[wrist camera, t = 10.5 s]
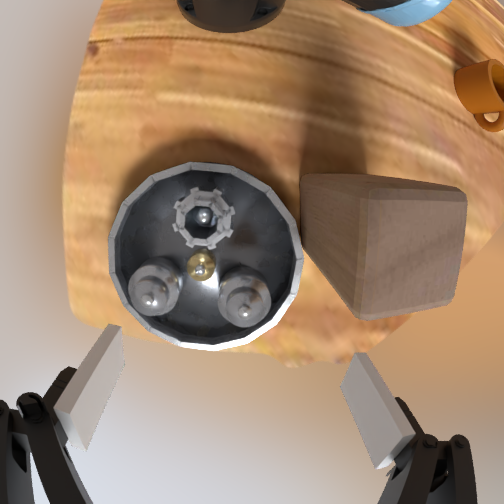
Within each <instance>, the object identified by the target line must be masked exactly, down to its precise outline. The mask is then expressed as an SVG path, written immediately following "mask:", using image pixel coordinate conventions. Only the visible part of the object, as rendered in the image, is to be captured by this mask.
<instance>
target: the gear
mask: <svg viewBox="0 0 504 504" xmlns="http://www.w3.org/2000/svg"><path fill="white" fill-rule="evenodd" d="M190 191H191V194H190V195H189V196H188V197H186V198H185V197H182V198H181V199H179V200H177V202H176V204H175V206H174V208H175V209H177V216H176V221H175V222H174V223H173V224H172V225H173V228H174V231H175V232H176V231H179V232H180V233H181V234H182V235H183V237H184V238H185V239H186V240H187V242H186V245H188V246H190V247H191V248H193V246H194V245H201V246H208V249H209V250H210V249H214V248H217V243H218V242H219V241H220V240H221V239H222V238H224V237H225V236H227V237H229V238H230V236H231V234H232V232H233V229H234V223H232V222H231V215H234V214H235V210H236V209H235V205H234V202H231V203H230V202H229V201H228V200H227V198H226V197H225V196H224V195H223V193H222V192H223V191H224V190H223V189H222V188H220V187H218V186H217V187H216V188H215V189H206V188H203V185H200V186H197V187H194V188H192V189H190ZM196 205H197V206H207V207H210V208H211V209H212V210H213V212H214V213H215V214H216V215H217V217H218V222H217V223H216V224H215V225H213V226H212V227H204V226H200V225H199V224H198V223H197V222H196V221H195V219H194V218H193V210H194V206H196Z"/></svg>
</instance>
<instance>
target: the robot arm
mask: <svg viewBox="0 0 504 504" xmlns="http://www.w3.org/2000/svg"><path fill="white" fill-rule="evenodd" d="M285 1H286V0H177V4H178V6H179V9H180V11H181V13H182V15H183V16H184V17H185V18H186V19H187V20H188V21H189V22H191V23H192V24H194V25H196V26H198V27H200V28H202V29H205V30H209V31H213V32H221V33H237V32H244V31H249V30H253V29H256V28H259V27H261V26H263V25H265V24H267V23H269V22H270V21H272V20H273V19H274V18H276V17H277V16H278V14H279V13H280V12H281V10H282V9H283V7H284V4H285ZM342 1H344V2H346V3H348V4H350V5H352V6H354V7H356V9H357V10H359V11H361V12H364V13H368V14H371V15H373V16H375V17H377V18H379V19H381V20H383V21H385V22H386V23H388V24H391V25H394V26H412V25H416V24H419V23H422V22H424V21H426V20H428V19H430V18H432V17H433V16H435V15H436V14H438V13H439V12H440V11H442V10H443V9H444V8H445V7H446V6H448V5H449V3H450V2H451V1H452V0H342ZM124 366H125V361H124V352H123V340H122V327H121V326H117V325H112V324H108V326H107V327H106V328H105V330H104V331H103V333H102V334H101V336H100V337H99V338H98V340H97V341H96V343H95V344H94V346H93V347H92V349H91V350H90V351H89V353H88V355H87V356H86V358H85V359H84V361H83V362H82V363H81V365H80V366H79V368H78V369H75V368H72V367H67V368H66V369H64V370H63V371H61V372H60V373H59V375H58V376H57V378H56V380H55V381H54V382H53V383H52V385H51V386H50V388H49V389H48V391H47V392H46V394H45V395H44V397H43V398H42V397H41V396H40V395H38V394H36V393H33V392H28V393H24V394H22V395H21V396H20V397H19V398H18V399H17V403H16V406H17V408H18V410H14V409H9V407H8V405H7V403H6V402H4V401H3V400H0V504H35V502H34V495H33V487H32V478H31V464H30V452H32V456H33V459H34V462H35V465H36V468H37V471H38V474H39V477H40V479H41V482H42V485H43V487H44V490H45V493H46V495H47V497H48V500H49V502H50V504H93V502H92V501H91V499H90V497H89V495H88V493H87V491H86V489H85V487H84V485H83V483H82V481H81V479H80V477H79V475H78V473H77V471H76V469H75V467H74V464H73V462H72V460H71V457H70V455H69V452H68V450H67V448H66V446H65V444H66V442H67V440H69V442H70V444H71V445H72V446H74V447H76V448H79V449H81V450H84V451H86V450H87V448H88V446H89V444H90V441H91V439H92V436H93V434H94V432H95V429H96V427H97V425H98V422H99V420H100V418H101V415H102V413H103V411H104V409H105V406H106V404H107V402H108V400H109V398H110V395H111V393H112V391H113V389H114V387H115V385H116V382H117V380H118V378H119V376H120V374H121V372H122V370H123V368H124ZM340 388H341V390H342V392H343V395H344V397H345V399H346V402H347V404H348V406H349V408H350V411H351V413H352V415H353V418H354V420H355V422H356V425H357V427H358V429H359V432H360V434H361V436H362V438H363V441H364V443H365V446H366V448H367V451H368V453H369V455H370V458H371V460H372V462H373V465H374V467H375V469H379V468H383V467H387V466H389V465H390V463H391V462H392V461H393V460H394V461H395V463H396V465H395V466H394V467H393V468H392V469H391V470H390V471H389V472H388V473H387V475H386V476H388V475H389V474H390V473H391V474H390V477H389V479H388V482H387V484H386V487H385V489H384V491H383V493H382V496H381V497H380V500H379V502H378V504H477V492H476V482H475V474H474V467H473V460H472V454H471V449H470V444H469V441H468V439H467V438H466V437H464V436H462V435H459V434H458V435H454V436H453V437H452V438H451V439H450V440H449V441H438V439H437V438H436V437H434V436H433V435H430V434H425V433H424V432H423V430H422V428H421V427H420V425H419V424H418V422H417V421H416V419H415V417H414V416H413V414H412V412H411V411H409V408H408V406H407V405H406V403H405V402H404V401H403V400H402V399H400V398H399V397H395V398H394V396H393V395H392V393H391V392H390V390H389V388H388V387H387V385H386V384H385V382H384V381H383V379H382V377H381V376H380V374H379V373H378V371H377V369H376V368H375V366H374V365H373V363H372V361H371V360H370V358H369V357H368V355H367V354H366V353H355V354H354V356H353V358H352V361H351V363H350V366H349V368H348V370H347V372H346V375H345V377H344V379H343V381H342V383H341V386H340ZM447 471H448V473H447Z"/></svg>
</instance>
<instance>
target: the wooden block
mask: <svg viewBox="0 0 504 504" xmlns="http://www.w3.org/2000/svg"><path fill="white" fill-rule="evenodd" d="M300 201H301V245H302V247H303V249H304V250H305V252H306V253H307V254H308V255H309V257H310V258H311V259H312V261H313V262H314V263H315V264H316V266H317V267H318V268H319V270H320V271H321V272H322V273H323V275H324V276H325V277H326V279H327V280H328V281H329V283H330V284H331V285H332V287H333V288H334V289H335V291H336V292H337V293H338V295H339V296H340V297H341V299H342V300H343V301H344V303H345V304H346V305H347V307H348V308H349V309H350V311H351V312H352V313H353V315H354V316H355V317H356V318H358V319H361V320H366V321H369V320H375V319H381V318H387V317H392V316H398V315H403V314H408V313H413V312H418V311H423V310H427V309H432V308H436V307H441V306H445V305H448V304H449V303H450V302H451V301H452V299H453V297H454V294H455V289H456V284H457V279H458V274H459V269H460V263H461V257H462V251H463V243H464V236H465V227H466V216H467V197H466V194H465V193H464V192H462V191H461V190H460V189H458V188H457V187H452V186H447V185H441V184H435V183H429V182H422V181H416V180H409V179H402V178H394V177H386V176H377V175H368V174H306V175H303V176H302V178H301V180H300Z"/></svg>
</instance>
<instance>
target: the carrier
mask: <svg viewBox="0 0 504 504" xmlns="http://www.w3.org/2000/svg"><path fill="white" fill-rule="evenodd" d="M200 185H203V188H206V189H215V188H216V187H217V186H218V187H220V188H222V189H223V190H224V191H223V192H222V193H223V195H224V196H225V197H226V198H227V200H228V201H229V202H230V203H231V202H234V205H235V209H236V210H235V214H234V215H231V222H232V223H234V229H233V232H232V234H231V236H230V238H229V237H227V236H225V237H224V238H222V239H221V240H220V241H219V242H218V243H217V248H214V249H210V250H209V249H208V246H201V245H194V246H193V248H191V247H190V246H188V245H186V242H187V240H186V239H185V238H184V237H183V235H182V234H181V233H180V232H179V231H176V232H175V231H174V228H173V225H172V224H173V223H174V222H175V221H176V216H177V209H175V208H174V206H175V204H176V202H177V200H179V199H181V198H182V197H185V198H186V197H188V196H189V195H190V194H191V191H190V189H192V188H194V187H197V186H200ZM193 218H194V219H195V221H196V222H197V223H198V224H199V225H200V226H204V227H212V226H213V225H215V224H216V223H217V222H218V217H217V215H216V214H215V213H214V212H213V210H212V209H211V208H210V207H207V206H197V205H196V206H194V210H193ZM108 252H109V274H110V276H111V279H112V281H113V283H114V286H115V288H116V290H117V292H118V295H119V297H120V299H121V301H122V304H123V306H124V307H125V308H126V309H127V310H128V311H129V312H130V313H131V314H132V315H133V316H134V317H135V318H136V319H137V320H138V321H139V323H140V324H141V325H142V326H143V327H144V328H145V329H146V330H147V331H149V332H151V333H153V334H155V335H157V336H159V337H161V338H163V339H165V340H167V341H169V342H171V343H173V344H175V345H177V346H180V347H187V348H194V349H203V350H212V351H215V350H219V349H224V348H229V347H233V346H237V345H242V344H246V343H249V342H250V341H252V340H253V339H255V338H256V337H258V336H259V335H261V334H262V333H264V332H265V331H267V330H268V329H270V328H271V327H273V326H274V325H276V324H277V323H278V321H279V320H280V319H281V317H282V316H283V314H284V313H285V311H286V310H287V308H288V307H289V306H290V304H291V303H292V301H293V300H294V298H295V297H296V295H297V292H298V287H299V282H300V277H301V272H302V267H303V262H304V256H303V251H302V247H301V242H300V238H299V233H298V229H297V225H296V221H295V219H294V218H293V216H292V215H291V214H290V212H289V211H288V210H287V208H286V207H285V205H284V204H283V202H282V201H281V200H280V199H279V197H278V196H277V195H276V194H275V192H274V191H273V190H272V188H271V187H270V186H268V185H266V184H264V183H263V182H262V181H260V180H259V179H257V178H256V177H254V176H253V175H251V174H249V173H247V172H245V171H243V170H241V169H238V168H236V167H234V166H230V165H225V164H219V163H211V162H188V163H184V164H181V165H178V166H175V167H172V168H170V169H167V170H164V171H161V172H158V173H155V174H153V175H150V176H149V177H148V178H147V179H146V180H145V181H144V182H143V183H142V184H141V185H140V186H139V187H137V188H136V189H135V190H134V191H133V192H132V193H131V194H130V195H129V196H128V197H127V198H126V199H125V200H124V201H123V202H122V204H121V206H120V209H119V211H118V214H117V216H116V219H115V221H114V224H113V226H112V229H111V231H110V234H109V237H108Z"/></svg>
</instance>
